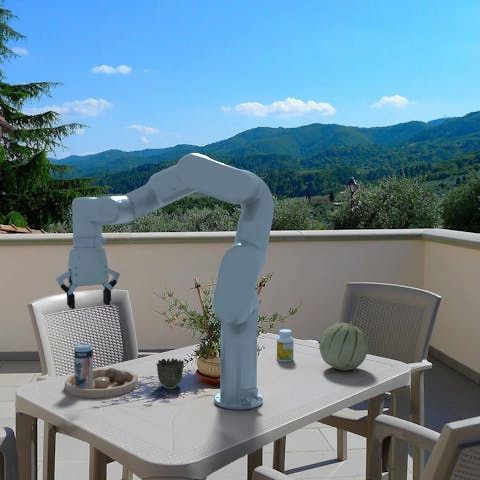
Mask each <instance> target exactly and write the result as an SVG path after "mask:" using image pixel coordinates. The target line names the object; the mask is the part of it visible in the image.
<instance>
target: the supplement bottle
mask: <svg viewBox="0 0 480 480" xmlns="http://www.w3.org/2000/svg"><path fill="white" fill-rule="evenodd" d="M278 335H279V336H278V337H277V338H276V360H277V361H279V362H282V363H289V362H290V363H291V362H293V361H294V337H293V336H292V330H291V329H285V328H284V329H283V328H282V329H280V330H278Z"/></svg>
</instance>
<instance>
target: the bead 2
mask: <svg viewBox="0 0 480 480" xmlns="http://www.w3.org/2000/svg"><path fill="white" fill-rule="evenodd" d="M114 379H115V382H116V383H118V384H124V383H125V382H126V381H127V374H126V373H125V372H124V371H119V372H117V373H116V374H115V376H114Z"/></svg>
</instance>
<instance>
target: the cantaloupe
mask: <svg viewBox="0 0 480 480" xmlns="http://www.w3.org/2000/svg"><path fill="white" fill-rule="evenodd" d="M368 343H369V342H368V339H367V337H366V335H365V333H364V332H363V331H362V330H361V329H360V328H358V326H355V325H354V322H353V320H351V321H350V322H349V323H348V322H335V323H332V324H331V325H329V326H328V327H327V328H326V329H324V331H323V333H322V334H321V336H320V339H319V345H318V347H319V353H320V356H321V358H322V360H323V361H324V362H325V363H326V364H327V365H329V366H330V367H332V368H333V369H335V370H338V371H339V370H340V371H341V372H342V371H344V372H345V371H351V370H354V369H356V368H358V367H360V366H361V365H362V364H363V363H364V361H365V359H366V358H367V355H368V349H369V345H368Z"/></svg>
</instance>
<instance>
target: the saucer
mask: <svg viewBox="0 0 480 480" xmlns="http://www.w3.org/2000/svg"><path fill="white" fill-rule="evenodd" d="M108 369H109V368H100V369H99V368H97V369H93V388H92V389H84V388H79V387H75V374H72V375H70V376H68V378H67V379H65V381H64V390H65V391H66V392H67V393H68V394H69V395H70V396H73V397H74V396H75V397H79V398H85V399H87V398H88V399H96V398H97V399H100V398H103V399H105V398H110V397H116V396H121V395H125V394H128V393H129V392H131V391H133V390H136V387H137V386H138V383H139V381H138V380H139V379H138V377H139V376H138V375H137V374H135V373H133V371H130V370H125V369H120V368H119V369H118V368H115V369H116V370H117V372H119V371H124V372H125V373H126V374H127V381H126V382H125V383H124V384H118V383H116V382H115V380H113V381H109V378H108V377H105V372H106V371H107V370H108Z"/></svg>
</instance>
